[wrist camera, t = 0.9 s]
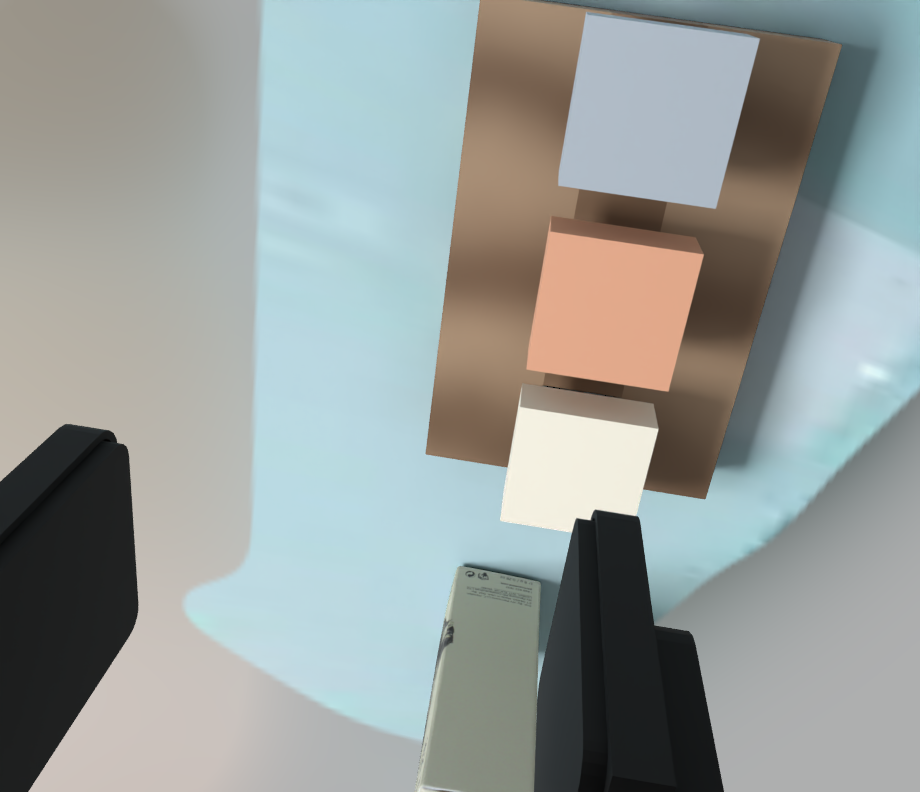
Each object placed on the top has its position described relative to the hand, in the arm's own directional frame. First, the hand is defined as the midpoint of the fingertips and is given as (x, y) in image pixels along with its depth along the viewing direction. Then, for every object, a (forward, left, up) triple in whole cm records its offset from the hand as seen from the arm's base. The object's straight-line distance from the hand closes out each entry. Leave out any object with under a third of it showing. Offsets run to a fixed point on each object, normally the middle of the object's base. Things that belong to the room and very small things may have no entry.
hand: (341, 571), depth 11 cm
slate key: (-3, +5, -24) cm, 24 cm away
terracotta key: (+3, +5, -24) cm, 24 cm away
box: (+22, +3, -26) cm, 34 cm away
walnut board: (+3, +5, -26) cm, 26 cm away
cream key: (+10, +5, -24) cm, 26 cm away
